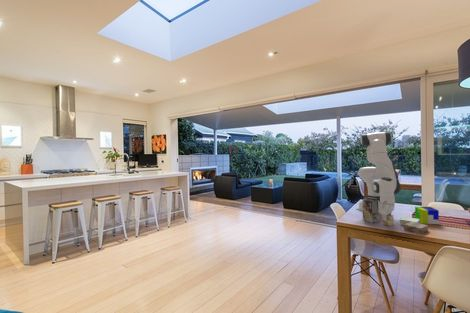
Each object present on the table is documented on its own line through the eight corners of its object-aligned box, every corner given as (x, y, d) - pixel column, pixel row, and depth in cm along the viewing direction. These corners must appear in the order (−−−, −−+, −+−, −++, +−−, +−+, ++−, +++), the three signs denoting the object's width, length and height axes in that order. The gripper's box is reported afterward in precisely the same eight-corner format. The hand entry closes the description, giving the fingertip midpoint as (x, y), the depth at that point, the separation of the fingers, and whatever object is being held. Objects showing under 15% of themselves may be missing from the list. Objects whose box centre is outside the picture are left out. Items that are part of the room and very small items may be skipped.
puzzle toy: (438, 224, 168) (438, 210, 168) (422, 223, 170) (422, 210, 170) (430, 219, 178) (429, 206, 178) (415, 219, 180) (415, 206, 180)
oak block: (382, 224, 172) (382, 215, 172) (386, 223, 174) (385, 213, 174) (389, 226, 168) (389, 216, 167) (393, 224, 170) (393, 215, 170)
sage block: (399, 224, 171) (399, 219, 171) (403, 221, 177) (403, 216, 177) (416, 228, 163) (416, 222, 163) (419, 224, 170) (419, 219, 170)
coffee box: (379, 222, 177) (378, 201, 177) (372, 223, 175) (372, 201, 175) (368, 218, 186) (368, 198, 186) (362, 219, 184) (362, 199, 184)
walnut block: (403, 230, 160) (403, 224, 160) (410, 227, 165) (410, 221, 165) (421, 234, 151) (421, 228, 151) (427, 231, 156) (427, 225, 156)
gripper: (387, 203, 161) (388, 223, 161) (396, 198, 175) (396, 217, 175) (377, 201, 166) (377, 221, 166) (386, 197, 179) (386, 215, 180)
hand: (387, 219), depth 170 cm, fingers open, 8 cm apart
